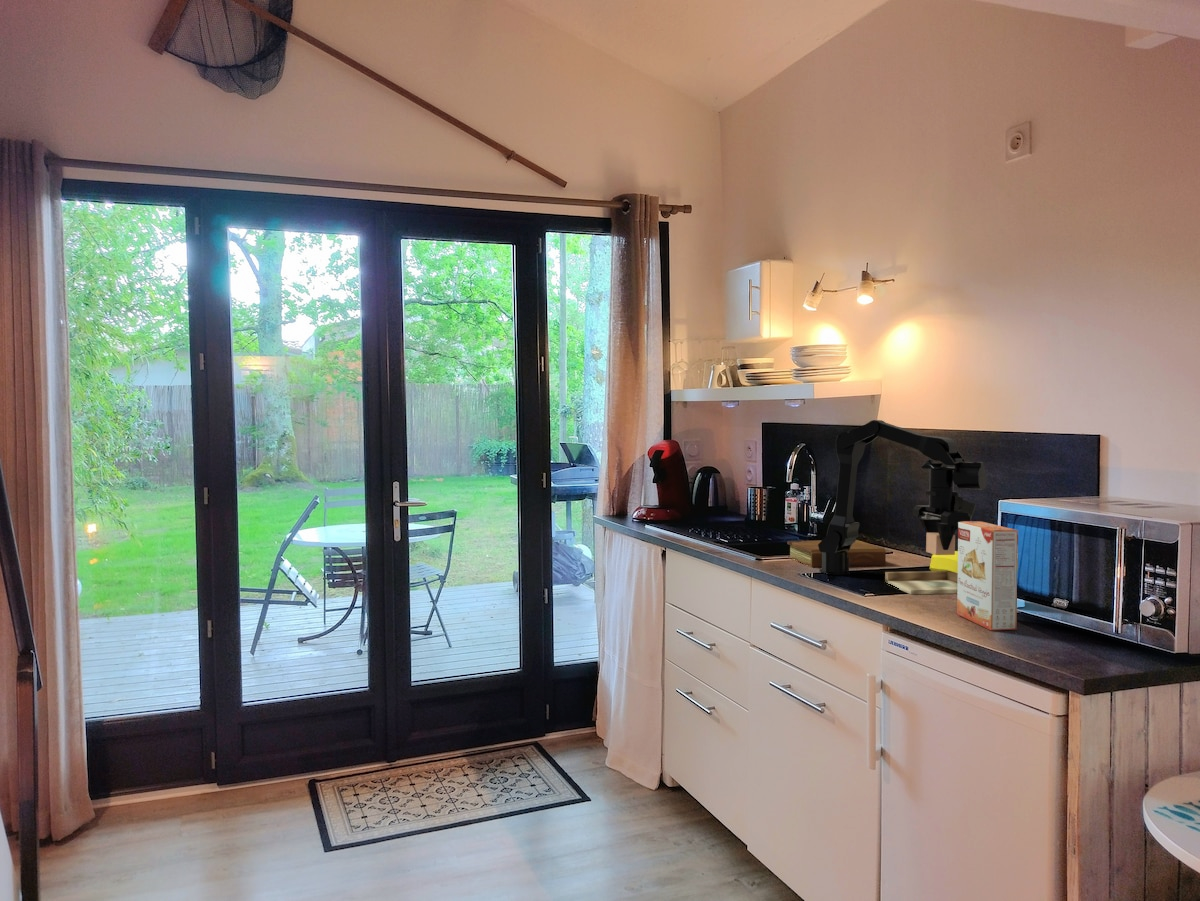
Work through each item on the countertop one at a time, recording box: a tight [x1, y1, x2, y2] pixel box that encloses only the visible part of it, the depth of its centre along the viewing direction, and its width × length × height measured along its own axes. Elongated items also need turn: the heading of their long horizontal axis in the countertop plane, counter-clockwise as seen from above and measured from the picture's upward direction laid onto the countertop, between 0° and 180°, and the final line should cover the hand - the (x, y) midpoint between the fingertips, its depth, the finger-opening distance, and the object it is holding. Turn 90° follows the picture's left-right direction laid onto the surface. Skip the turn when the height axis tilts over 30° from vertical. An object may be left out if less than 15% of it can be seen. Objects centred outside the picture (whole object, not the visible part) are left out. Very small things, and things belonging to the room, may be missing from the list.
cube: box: [925, 532, 956, 555], centre depth 216 cm, size 5×5×5 cm
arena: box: [884, 570, 958, 595], centre depth 217 cm, size 18×14×3 cm
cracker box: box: [956, 520, 1019, 632], centre depth 179 cm, size 14×6×21 cm, turn 5°
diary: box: [786, 539, 887, 568], centre depth 257 cm, size 23×19×6 cm
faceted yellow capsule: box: [929, 550, 958, 573], centre depth 235 cm, size 18×7×8 cm
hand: (940, 548), depth 216 cm, fingers closed on cube, 5 cm apart
